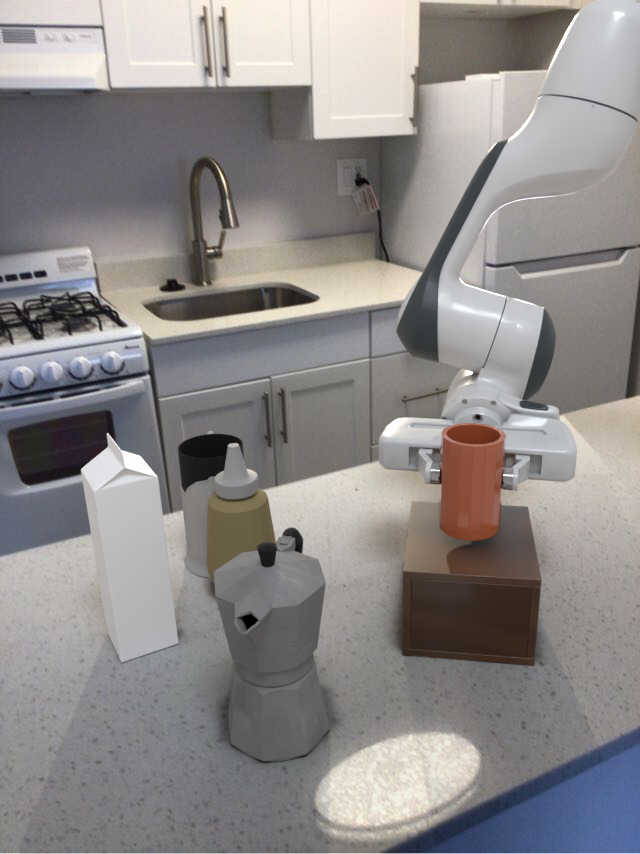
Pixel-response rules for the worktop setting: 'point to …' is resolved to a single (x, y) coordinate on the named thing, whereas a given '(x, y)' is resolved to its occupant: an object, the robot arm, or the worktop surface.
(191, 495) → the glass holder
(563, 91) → the robot arm
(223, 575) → the coffeepot
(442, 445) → the cup
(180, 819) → the worktop surface
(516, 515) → the cabinet
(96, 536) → the milk
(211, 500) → the squeeze bottle
